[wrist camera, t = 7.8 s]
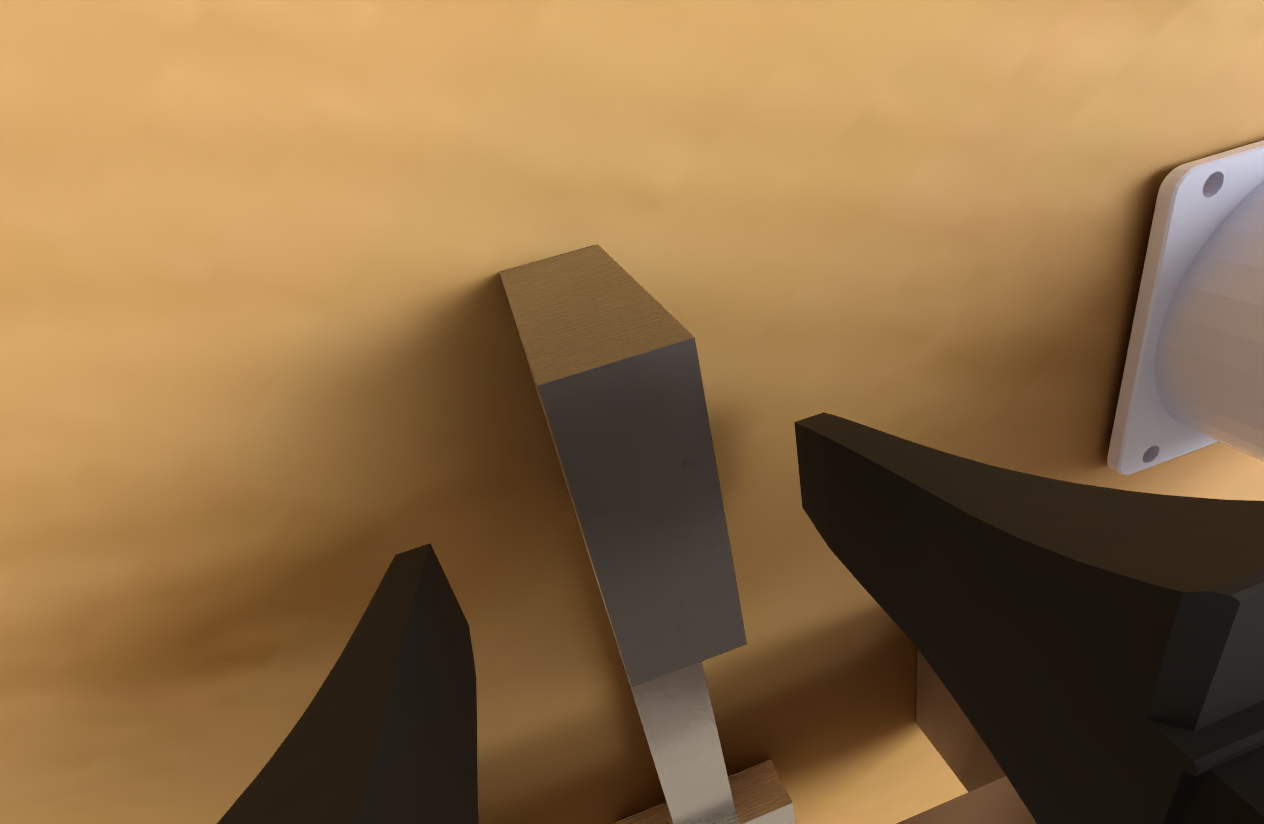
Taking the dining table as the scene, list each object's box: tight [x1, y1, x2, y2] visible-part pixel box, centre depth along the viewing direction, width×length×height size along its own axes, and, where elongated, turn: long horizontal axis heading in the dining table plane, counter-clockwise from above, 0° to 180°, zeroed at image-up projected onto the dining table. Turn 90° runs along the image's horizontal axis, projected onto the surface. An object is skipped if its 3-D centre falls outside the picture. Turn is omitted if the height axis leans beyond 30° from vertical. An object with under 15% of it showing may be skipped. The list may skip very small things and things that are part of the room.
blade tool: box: [499, 245, 795, 824], centre depth 13 cm, size 18×5×5 cm, turn 12°
